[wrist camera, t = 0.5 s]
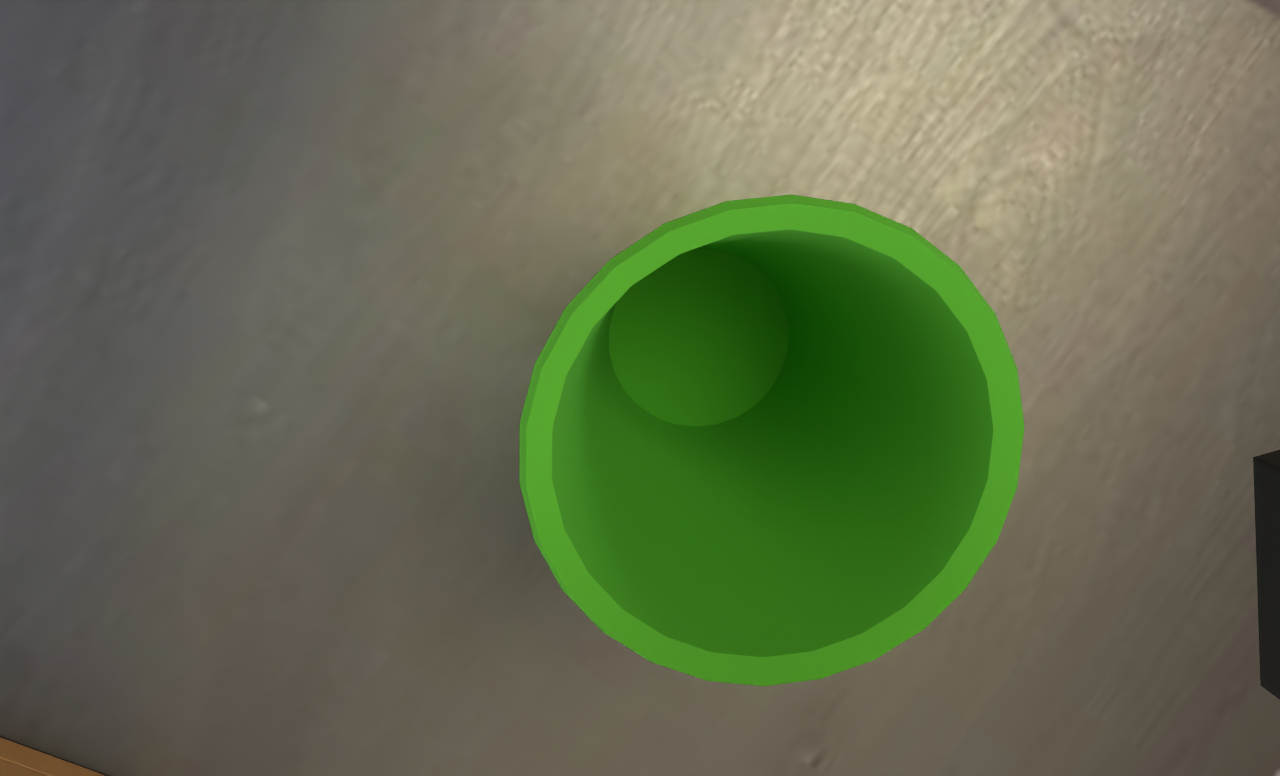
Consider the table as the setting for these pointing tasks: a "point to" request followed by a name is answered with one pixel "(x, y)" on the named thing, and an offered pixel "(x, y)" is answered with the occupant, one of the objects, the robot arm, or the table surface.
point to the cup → (771, 440)
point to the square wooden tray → (35, 763)
